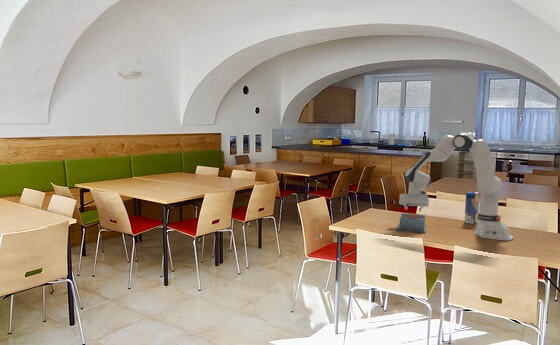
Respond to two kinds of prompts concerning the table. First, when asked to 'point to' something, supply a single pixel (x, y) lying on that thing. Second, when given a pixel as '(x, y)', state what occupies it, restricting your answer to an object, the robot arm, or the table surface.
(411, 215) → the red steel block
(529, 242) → the table surface
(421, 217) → the sliding jaw
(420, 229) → the blue slanted stand
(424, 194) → the robot arm
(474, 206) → the beverage box
